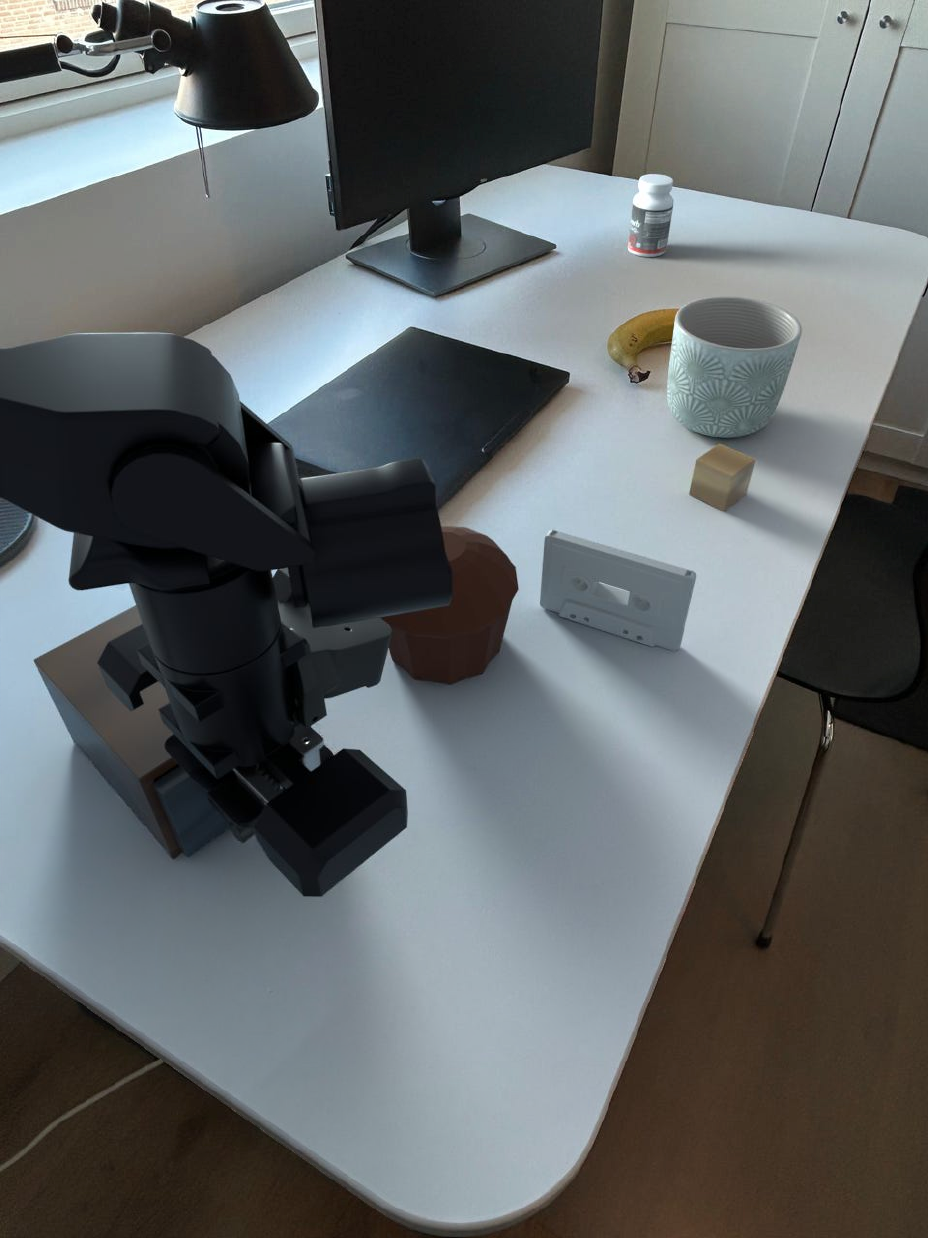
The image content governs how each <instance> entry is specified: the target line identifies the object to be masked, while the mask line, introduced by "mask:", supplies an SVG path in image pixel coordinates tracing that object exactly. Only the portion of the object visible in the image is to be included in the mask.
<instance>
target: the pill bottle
mask: <svg viewBox="0 0 928 1238" xmlns="http://www.w3.org/2000/svg"><path fill="white" fill-rule="evenodd" d="M673 185H674V179H673V178H672V177H670V176H668V175H665V174H659V173H648V174H645V175H641V176H640V177H639V180H638V185H637V186H638V189H639V191H638V193H636V194H635V196H634V197H633V201H632V206H631V207H632V208H631V216H630V224H629V230H628V239H627V249H628V252H630V253H631V254H632V255H634V256H638V257H643V258H656V257H659V256H662V255H663V254H665V253H666V252H667V248H668V243H669V235H670V230H671V229H670V228H671V222H672V216H673V210H674V209H673V208H674V198H673V196H672V195H671V194H670V193H671V192H672V190H673Z"/></svg>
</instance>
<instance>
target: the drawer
mask: <svg viewBox="0 0 928 1238" xmlns="http://www.w3.org/2000/svg"><path fill="white" fill-rule="evenodd" d="M311 728H313V727H312V726H311ZM154 781H155V782H154V783H153V786H154V788H155V791H156V793H157V795H158V798H159V800H160V803H161V805H162V807H163V810H164V812H165V815H166V817H167V819H168V822H169V824H170V826H171V829H172V831H173V834H174V836H175V838H176V841H177V843H178V846H179V847H180V848H181V850H182V851H183V854H185V856H186V857H187V858H190V857H192V856H193V855H195V854H196V853H198V852H199V851H200V850H202V849H203V848H204V847H206V846H207V845H208V844H210V843H211V842H213V841H214V840H215V839H217V838H218V837H220V836H222V834H224V833H225V832H226V831H228V830H230V831H231V833H232V835H233V836H234V838H235V839H236V841H238V842H239V843H240V844H245V843H246V842H247V841H248V840H250V839H251V838H253V837H254V836H256V835H255V832H254V830H253V829H251V828H245V829H244V828H239V827H238V826H236V825H235V824H234V823H233V822H232V821H231V820H230V819H229V818H228V817H227V816H226V815H225V814H224V812H223V811H222V810H221V809H220V808H219V807H218V806H217V805H216V804H215V803H214V802H213V801H212V800H211V799H210V797H209V796H208V795H207V792H209V791H207V790H206V789H205V788H204V787H202V786H201V785H200V784H198V783H197V782H196V781H195V780H193V779H192V778H191V777H190V776H189V775H188V774H187V773H186V772H185V771H184V770H183V769H182V768H181V766H180V765H179V764H177V765H176V766H174V767H173V768H171V769H170V770H168V771H166V772H165V773H163V774H162V775H160V776H159V777H157V778H156V779H154Z"/></svg>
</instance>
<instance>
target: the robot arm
mask: <svg viewBox="0 0 928 1238" xmlns="http://www.w3.org/2000/svg"><path fill="white" fill-rule="evenodd" d="M436 487H437V486H436V483H435V480H434V478H433V475H432V473H431V470H430V467H429V466H428V463H427V461H426V460H425V459H424V458H422V457H417V458H409V459H402V460H397V461H393V462H390V463H387V464H384V465H381V466H378V467H373V468H368V469H360V470H354V471H347V472H340V473H339V472H338V473H332V474H325V475H318V476H310V477H302V478H300V475H299V470H298V466H297V461H296V457H295V452H294V448H293V446H292V444H291V443H290V442H289V441H288V440H286V439H285V437H283V436H281V434H279V433H278V432H277V431H275V429H273V428H272V427H271V426H270V425H269V424H268V423H267V422H266V421H264V420H263V419H262V418H261V417H259V416H258V415H257V414H256V413H255V412H253V411H252V409H250V408H249V407H248V406H247V405H245V403H243V402H242V401H241V400H240V393H239V392H238V389H237V387H236V385H235V382H234V380H233V377H232V375H231V374H230V372H229V371H228V370H227V369H226V368H225V366H224V365H223V364H222V363H221V362H220V361H219V359H217V357H216V356H215V355H213V352H212V350H210V349H209V348H208V347H206V346H205V345H203V344H201V343H199V342H197V341H196V340H194V339H191V338H188V337H184V336H181V335H178V334H175V333H169V332H90V333H89V332H85V333H80V332H79V333H69V334H65V335H60V336H57V337H52V338H48V339H44V340H39V341H35V342H31V343H25V344H23V345H19V346H18V345H17V346H14V347H6V348H0V500H3V501H6V502H8V503H10V504H11V505H14V506H15V507H17V508H18V509H21V510H22V511H24V512H27V513H29V514H31V515H33V516H35V517H36V518H38V519H40V520H42V521H44V522H45V523H47V524H50V525H51V526H52V527H53V526H54V527H55V528H57V529H58V530H62V531H64V532H67V533H73V535H72V546H71V554H70V555H71V556H70V562H69V563H70V564H69V571H68V572H69V573H68V584H69V586H70V588H71V589H73V590H75V591H87V590H94V589H101V588H106V587H113V586H120V585H125V584H128V585H129V588H130V591H131V594H132V598H133V600H134V602H135V605H136V606H137V609H138V612H139V615H140V618H141V620H142V623H143V624H141V625H139V626H137V627H135V628H133V629H131V630H130V631H128V632H126V633H124V634H122V635H120V636H119V637H117V638H115V639H113V640H111V641H109V642H108V643H107V645H106V647H105V649H104V651H103V653H102V654H101V656H100V658H99V660H98V662H97V664H98V666H99V669H100V671H101V674H102V676H103V678H104V681H105V683H106V686H107V687H108V688H109V689H110V690H111V691H112V692H113V693H114V695H115V696H116V697H117V698H118V699H119V700H120V701H121V702H122V703H123V704H124V705H125V706H126V707H127V708H128V709H129V711H130V712H131V711H133V710H135V709H137V708H138V707H140V706H142V705H143V704H144V702H143V699H142V697H141V694H140V692H141V691H142V690H144V689H146V688H148V687H149V686H151V685H153V684H154V683H156V682H158V681H159V682H160V683H161V684H162V685H163V686H164V687H165V690H166V693H167V696H168V699H169V701H170V702H169V703H168V704H166V705H164V706H163V707H161V708H159V709H158V710H159V713H160V716H161V718H162V721H163V723H164V724H165V725H166V726H167V727H168V728H169V729H170V730H171V731H172V733H173V735H172V736H170V737H169V738H168V739H167V740H166V742H165V745H164V747H165V750H166V751H167V753H168V754H169V755H170V756H171V757H172V758H173V759H174V760H175V761H176V762H177V763H178V764H179V765H180V766H181V768H182V769H183V770H184V771H185V772H186V773H187V774H188V775H189V776H190V777H191V778H192V779H193V780H195V781H196V782H197V783H198V784H200V785H201V786H202V787H204V788H205V789H206V790H207V791H209V792H207V795H208V796H209V797H210V799H211V800H212V801H213V802H214V803H215V804H216V805H217V806H218V807H219V808H220V809H221V810H222V811H223V812H224V814H225V815H226V816H227V817H228V818H229V819H230V820H231V821H232V822H233V823H234V824H235V825H236V826H238V827H239V828H244V829H245V828H251V829H253V830H254V832H255V835H254V836H255V838H256V841H257V842H258V844H259V846H260V848H261V849H262V851H263V852H264V854H265V856H266V857H267V858H268V860H269V861H270V862H271V863H272V865H273V866H274V867H275V868H276V869H277V870H278V871H279V872H280V874H282V875H283V876H284V877H285V878H286V880H287V881H288V882H289V883H290V884H291V885H292V886H293V887H294V888H295V889H296V890H297V891H298V892H299V894H300V895H302V897H307V898H308V897H309V898H310V897H312V898H314V897H315V898H317V897H318V898H319V897H320V898H321V897H323V896H324V895H326V894H327V893H328V892H329V891H331V890H332V889H333V888H335V886H337V885H338V884H339V883H341V882H342V881H343V880H344V879H345V878H346V877H348V876H349V875H350V874H352V873H353V872H354V871H355V870H357V869H358V868H359V867H360V866H362V865H363V864H364V863H365V862H366V861H367V860H369V859H370V858H371V857H373V856H374V855H375V854H376V853H378V851H380V850H382V848H384V847H385V846H386V845H387V844H388V843H390V842H391V841H393V840H394V839H395V838H396V837H397V836H398V835H399V834H401V833H402V832H403V831H404V830H406V829H407V828H408V817H409V810H408V797H407V790H406V789H405V788H404V787H403V786H402V785H401V784H400V783H398V782H397V780H395V779H394V778H393V777H391V775H390V774H388V773H387V772H386V771H385V770H384V769H383V768H381V767H380V765H378V764H377V763H376V762H375V761H374V760H373V759H371V758H370V757H369V756H368V755H367V754H366V753H364V752H363V751H362V750H361V749H356V748H345V747H343V748H342V749H340V750H339V751H338V752H336V753H335V754H334V752H333V751H332V750H331V749H330V748H329V747H328V746H326V744H325V741H324V738H323V736H322V735H321V734H319V733H318V732H317V731H316V730H315V729H314V728H313V727H312V726H313V725H315V724H316V723H318V722H319V721H321V720H322V719H324V718H326V716H328V712H327V707H326V706H327V705H326V700H327V699H328V700H329V699H332V698H335V697H339V696H341V695H344V694H347V693H350V692H353V691H356V690H359V689H362V688H364V687H366V688H368V689H369V688H373V687H375V686H378V684H379V683H381V680H382V676H383V672H384V668H385V664H386V659H387V656H388V652H389V648H388V647H389V643H390V639H391V635H392V629H391V627H390V626H389V625H388V624H387V623H386V622H385V621H383V620H382V619H380V618H379V617H385V616H391V615H396V614H402V613H408V612H414V611H420V610H425V609H431V608H437V607H443V606H449V604H450V603H451V598H452V587H453V582H452V569H451V565H450V563H449V560H448V558H447V555H446V552H445V546H444V539H443V534H442V528H441V526H442V524H441V520H440V515H439V511H438V505H437V489H436ZM275 570H276V571H275ZM273 571H275V573H274V574H273ZM311 727H312V728H311Z"/></svg>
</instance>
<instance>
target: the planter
mask: <svg viewBox="0 0 928 1238" xmlns="http://www.w3.org/2000/svg"><path fill="white" fill-rule="evenodd" d="M802 334H803V328H802V324H801V322H800V321H799V319H798V318H797V317H796V316H794V315H793V314H792V313H791V312H789V311H788V310H787V309H784V308H783V307H780V306H778V305H775V304H773V303H770V302H767V301H764V300H760V299H755V298H750V297H742V296H721V295H720V296H709V297H704V298H700V299H695V300H692V301H690V302H688V303H686V304H684V305H682V307H680V308H679V309H678V311H677V312H676V314H675V316H674V325H673V332H672V339H671V347H670V354H669V363H668V372H667V382H666V384H667V385H666V398H667V399H666V400H667V405H668V408H669V411H670V413H671V414H672V416H673V418H675V419H676V421H678V422H679V423H680V424H681V425H682V426H684V427H685V428H687V429H689V430H691V431H693V432H695V433H697V434H701V435H704V436H706V437H707V436H708V437H713V438H720V439H721V438H723V439H724V438H728V439H730V438H741V437H744V436H749V435H751V434H753V433H755V432H758V431H759V430H761V429H762V428H764V427H765V426H766V425H767V424H768V423H769V422H770V420H771V419H772V417H773V416H774V414H775V413H776V410H777V408H778V406H779V404H780V401H781V398H782V396H783V393H784V390H785V387H786V385H787V381H788V378H789V375H790V372H791V369H792V366H793V364H794V363H793V362H794V358H795V356H796V354H797V349H798V346H799V343H800V339H801V337H802Z"/></svg>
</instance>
